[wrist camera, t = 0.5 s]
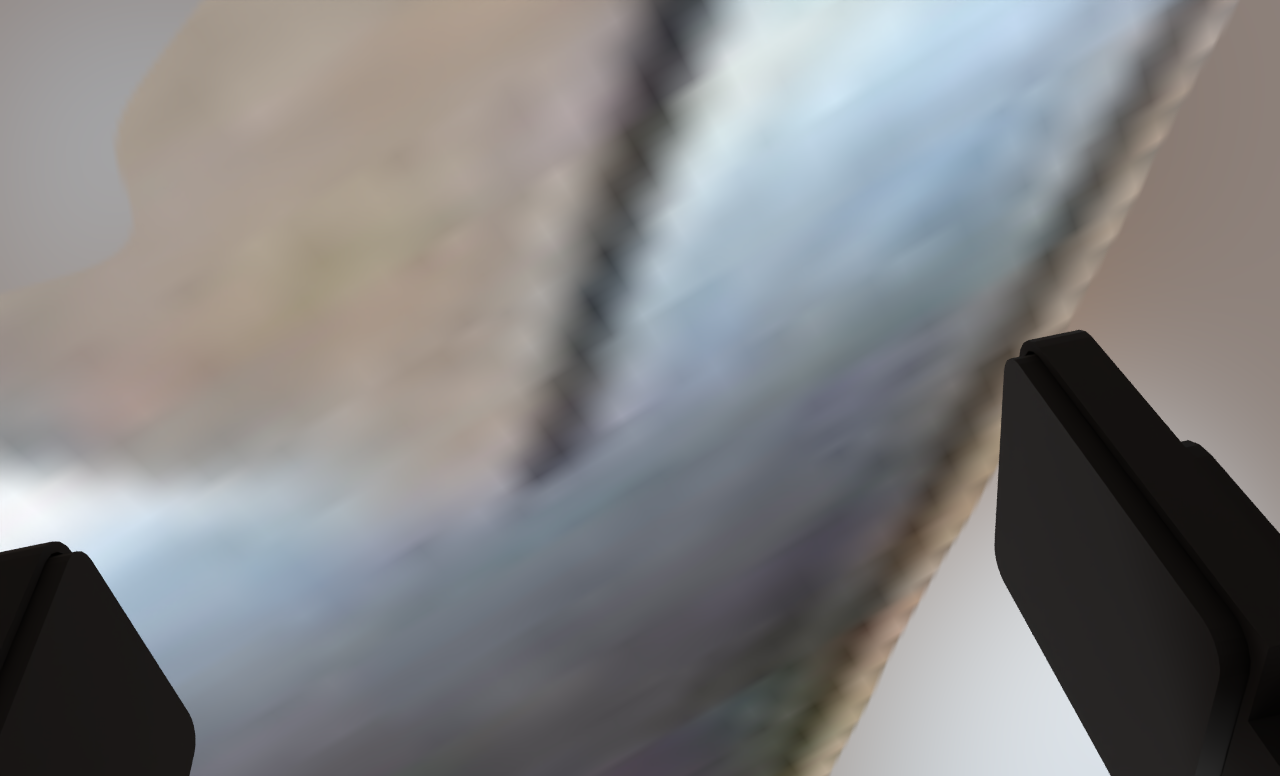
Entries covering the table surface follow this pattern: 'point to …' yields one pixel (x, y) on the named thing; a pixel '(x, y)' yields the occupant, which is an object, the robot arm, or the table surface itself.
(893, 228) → the table surface
